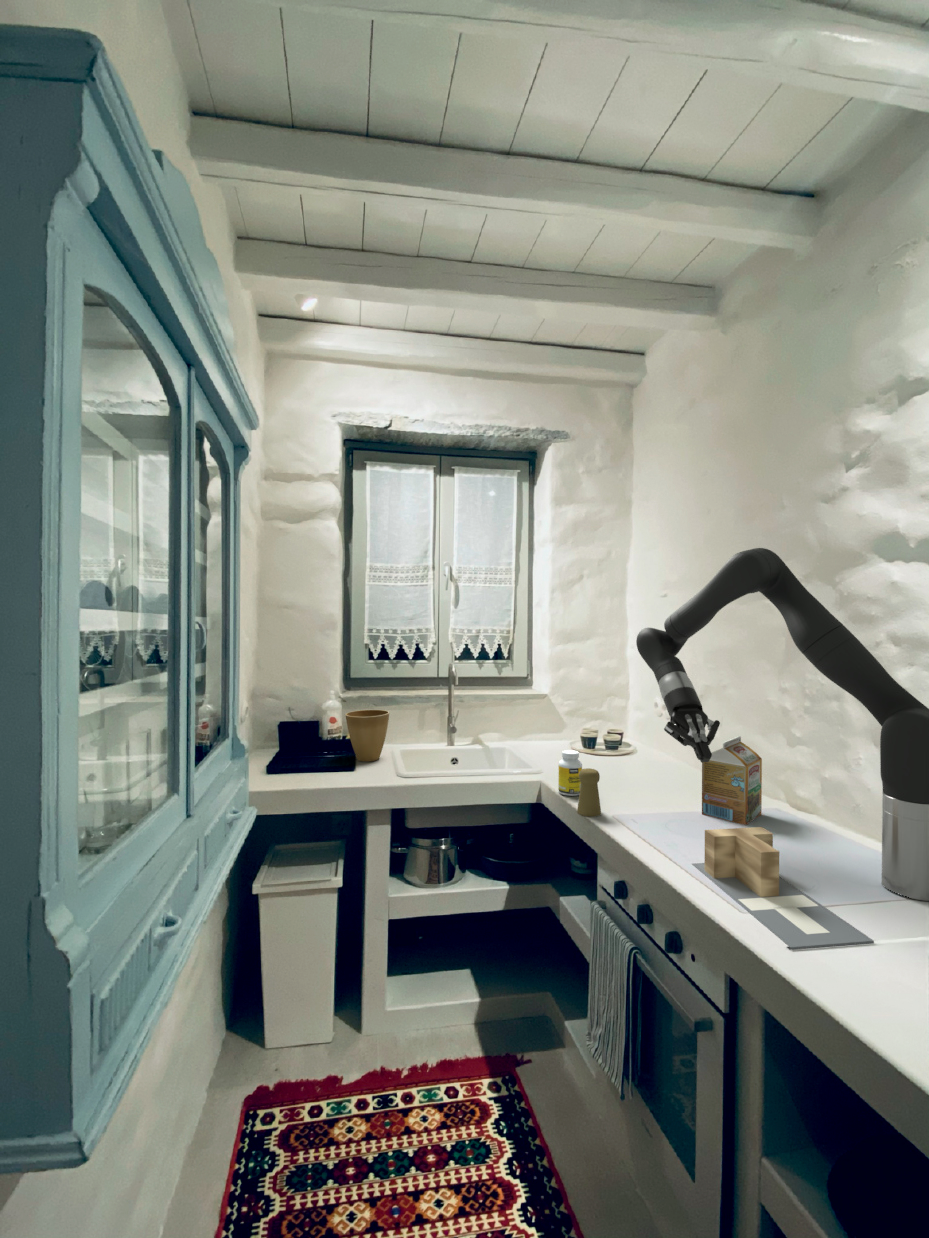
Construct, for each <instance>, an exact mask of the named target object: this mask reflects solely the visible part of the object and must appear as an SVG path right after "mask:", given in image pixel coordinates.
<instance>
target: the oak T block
mask: <svg viewBox="0 0 929 1238" xmlns="http://www.w3.org/2000/svg"><path fill="white" fill-rule="evenodd" d="M773 841H774V833H772V832H771V831H769V830H767V829H766V828H764V827H762V826H756V827H734V828H717V829H715V828H714V829H704V863H705V871H706V872H707V873H708V874H709V875H711V876H712V877H713V878H728V877H736V878H737V879H738V880H739V881H741V882H742V883H743V884H745V885H746V886H747V887H748V888H750V889H751V890H752V891H754V892H755V893H756V894H757V895H759V896H760V897H769V896H779V876H780V851H779V850H777V849H776V848H774V846H773V845H774V844H773V843H774V842H773Z"/></svg>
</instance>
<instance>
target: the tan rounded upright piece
mask: <svg viewBox="0 0 929 1238" xmlns="http://www.w3.org/2000/svg"><path fill="white" fill-rule="evenodd" d="M600 777H601V776H600V772H599V771H598V769H595V768H589V767H588V768H582V770H581V771H580V772H579V780H580V781H581V787H580V794H579V795H578V802H577V803H578V804H577V809H576V811H577V812H576V813H577V814H578V815H580V816H583V817H590V818H591V817H598V816H601V815H602V809H601V808H602V807H601V800H600V793H599V786H598V783H599V782H600Z"/></svg>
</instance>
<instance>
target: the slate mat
mask: <svg viewBox="0 0 929 1238" xmlns="http://www.w3.org/2000/svg"><path fill="white" fill-rule="evenodd" d="M691 865H692V866H693V867H694V868H695V869H696V870H698V871H699V872H700V873H702V875H704V876H705V877H706V878H707V879H709V880H710V881H711V882H712V883H714V885H716V887H718V888H719V889H720V890H721V891H723V892H724V893H725V894H726V895H727V896H729V898H731V899H732V900H733V901H735V902H736V903H737V904H738V905H739V906H740V907H742V908H743V909H744V910H746V912H748V914H750V915H751V916H753V918H755V919H756V920H757V921H758V922H759V923H761V924H762V925H763V927H765V928H767V929H768V930H769V931H770V932H771V933H772V934H774V935H775V937H777V938H778V939H779V940H780V941H782V942H783V944H786V945H787V946H786V948H787V949H789V950H790V951H792V950H793V951H794V950H805V949H807V950H808V949H819V948H831V947H840V946H854V945H857V946H858V945H868V944H869V945H870V944H874V943H875V940H873V939H872V938H871V937H869V936H868V935H866V934H864V933H863V932H862V931H861V930H859V929H857V928H856V927H855V926H853V925H852V924H850V923H849V922H847V921H846V920H844V919H843V918H841V917H840V916H839V915H837V914H836V913H834V912H833V911H831V910H830V909H829V908H827V907H826V906H824V905H823V904H821V903H820V902H818V901H817V900H815V899H814V898H812V897H811V896H809V895H808V894H807V893H805V892H803V890H801V889H800V888H798V887H796V886H795V885H793V884H792V883H791V882H789V881H788V880H786V879H785V878H783V877H782V876H780V875H779V896H769V897H760V896H759V895H757V894H756V893H755V892H754V891H752V890H751V889H750V888H748V887H747V886H746V885H745V884H743V883H742V882H741V881H739V880H738V879H737V878H736V877H728V878H713V877H712V876H711V875H709V874H708V873H707V872H706V871H705V862H700V863H699V862H697V863H691Z"/></svg>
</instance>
